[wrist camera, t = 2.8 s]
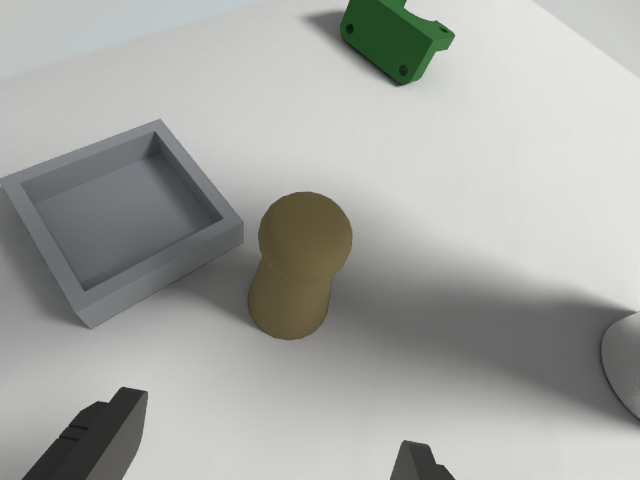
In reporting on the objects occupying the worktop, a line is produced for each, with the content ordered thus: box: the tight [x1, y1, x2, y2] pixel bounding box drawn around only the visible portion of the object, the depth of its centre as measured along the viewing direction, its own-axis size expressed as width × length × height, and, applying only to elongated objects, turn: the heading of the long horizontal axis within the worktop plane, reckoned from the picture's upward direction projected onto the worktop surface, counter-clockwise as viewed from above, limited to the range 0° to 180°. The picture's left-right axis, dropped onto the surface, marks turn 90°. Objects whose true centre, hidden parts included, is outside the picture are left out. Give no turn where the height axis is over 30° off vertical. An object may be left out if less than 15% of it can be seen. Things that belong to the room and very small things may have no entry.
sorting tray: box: [0, 119, 243, 329], centre depth 30 cm, size 12×12×3 cm
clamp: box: [340, 0, 455, 84], centre depth 46 cm, size 12×6×9 cm, turn 38°
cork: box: [248, 192, 352, 340], centre depth 26 cm, size 6×6×11 cm
